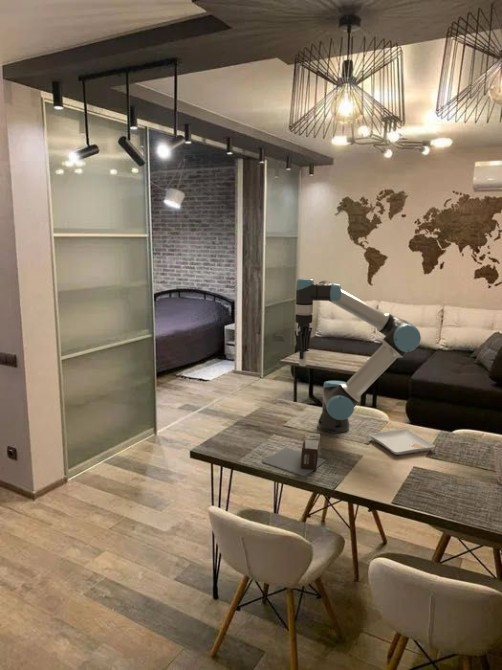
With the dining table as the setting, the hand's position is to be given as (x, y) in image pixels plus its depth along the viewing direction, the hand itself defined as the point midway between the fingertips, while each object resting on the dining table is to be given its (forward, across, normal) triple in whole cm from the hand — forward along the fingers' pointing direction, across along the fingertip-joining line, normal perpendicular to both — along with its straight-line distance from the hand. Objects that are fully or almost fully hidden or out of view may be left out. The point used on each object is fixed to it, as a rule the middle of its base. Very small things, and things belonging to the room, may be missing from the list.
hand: (302, 365), depth 227 cm
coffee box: (+29, +14, +13) cm, 35 cm away
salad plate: (+35, -17, +42) cm, 57 cm away
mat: (+34, +25, +10) cm, 44 cm away
